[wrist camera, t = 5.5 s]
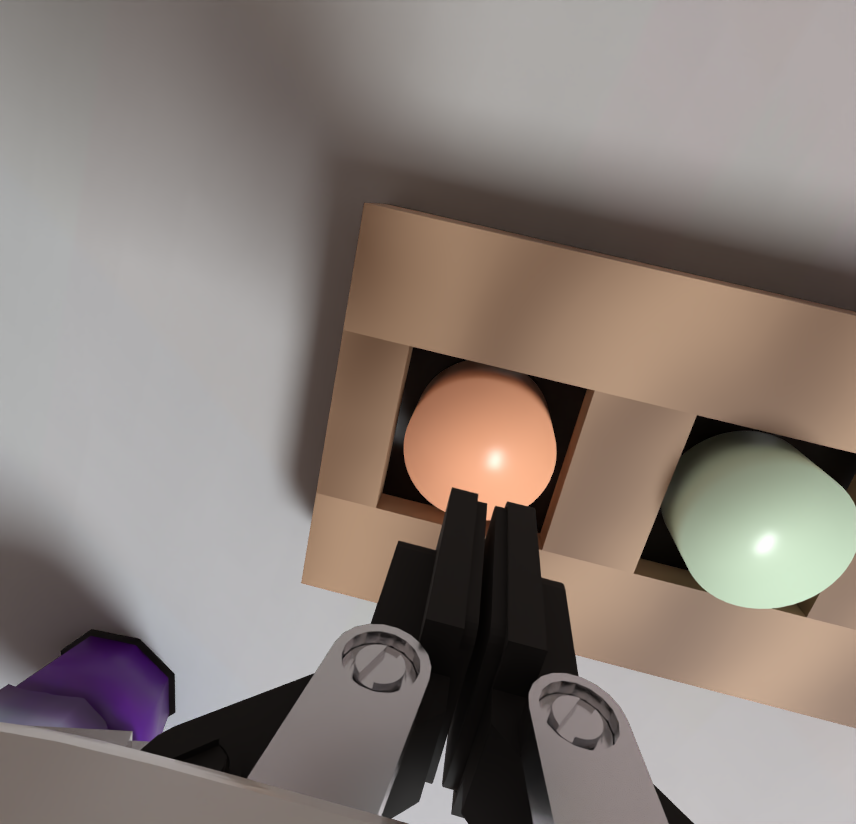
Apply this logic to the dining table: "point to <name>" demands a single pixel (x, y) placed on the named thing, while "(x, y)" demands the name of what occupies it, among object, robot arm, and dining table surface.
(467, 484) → the terracotta button
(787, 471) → the sage button
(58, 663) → the potion bottle
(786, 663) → the button deck
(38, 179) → the dining table surface
